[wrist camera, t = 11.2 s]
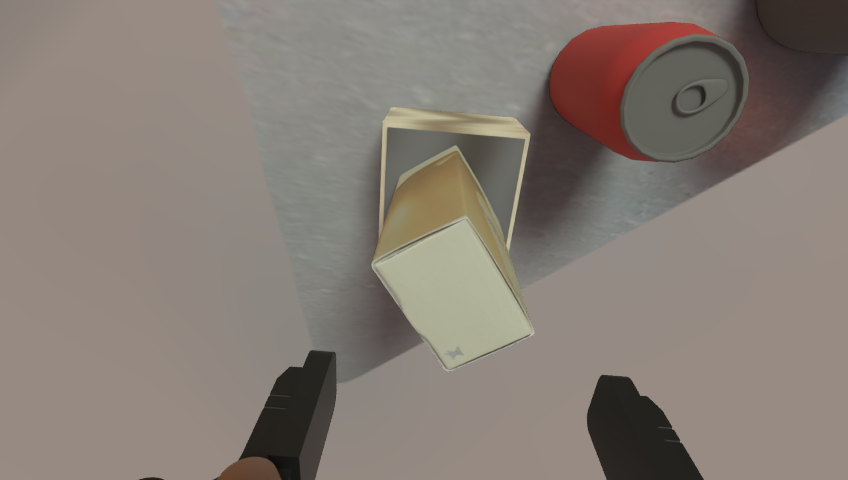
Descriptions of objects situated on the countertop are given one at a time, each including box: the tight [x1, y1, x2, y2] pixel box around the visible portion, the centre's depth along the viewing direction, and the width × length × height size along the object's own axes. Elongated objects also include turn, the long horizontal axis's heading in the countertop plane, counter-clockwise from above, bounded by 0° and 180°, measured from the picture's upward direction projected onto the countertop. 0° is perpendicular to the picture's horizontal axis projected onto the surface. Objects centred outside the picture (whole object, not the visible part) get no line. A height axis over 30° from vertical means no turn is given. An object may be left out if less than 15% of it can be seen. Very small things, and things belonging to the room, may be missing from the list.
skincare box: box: [371, 145, 534, 372], centre depth 22 cm, size 6×4×12 cm
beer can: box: [549, 22, 749, 163], centre depth 25 cm, size 7×7×12 cm
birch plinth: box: [378, 107, 531, 252], centre depth 30 cm, size 9×9×6 cm
